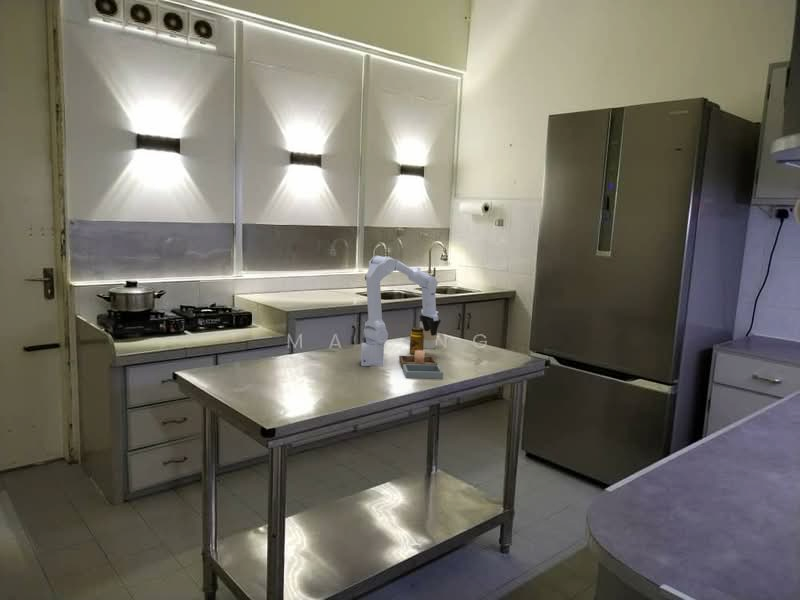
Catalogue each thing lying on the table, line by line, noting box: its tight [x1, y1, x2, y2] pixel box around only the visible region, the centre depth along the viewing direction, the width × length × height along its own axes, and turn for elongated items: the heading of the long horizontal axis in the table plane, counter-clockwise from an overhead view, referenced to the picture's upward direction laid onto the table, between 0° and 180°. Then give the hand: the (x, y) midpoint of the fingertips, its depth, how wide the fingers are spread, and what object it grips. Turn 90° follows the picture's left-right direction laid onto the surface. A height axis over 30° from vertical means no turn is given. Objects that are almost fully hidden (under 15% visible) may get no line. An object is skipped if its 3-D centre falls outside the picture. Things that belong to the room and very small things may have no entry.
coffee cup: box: [419, 318, 439, 350], centre depth 269 cm, size 9×9×15 cm
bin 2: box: [402, 364, 444, 380], centre depth 222 cm, size 14×11×3 cm
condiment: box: [409, 327, 428, 356], centre depth 254 cm, size 7×8×12 cm
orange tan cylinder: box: [414, 349, 426, 363], centre depth 234 cm, size 4×4×6 cm
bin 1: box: [398, 355, 439, 370], centre depth 235 cm, size 14×12×3 cm
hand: (430, 333), depth 251 cm, fingers open, 7 cm apart
